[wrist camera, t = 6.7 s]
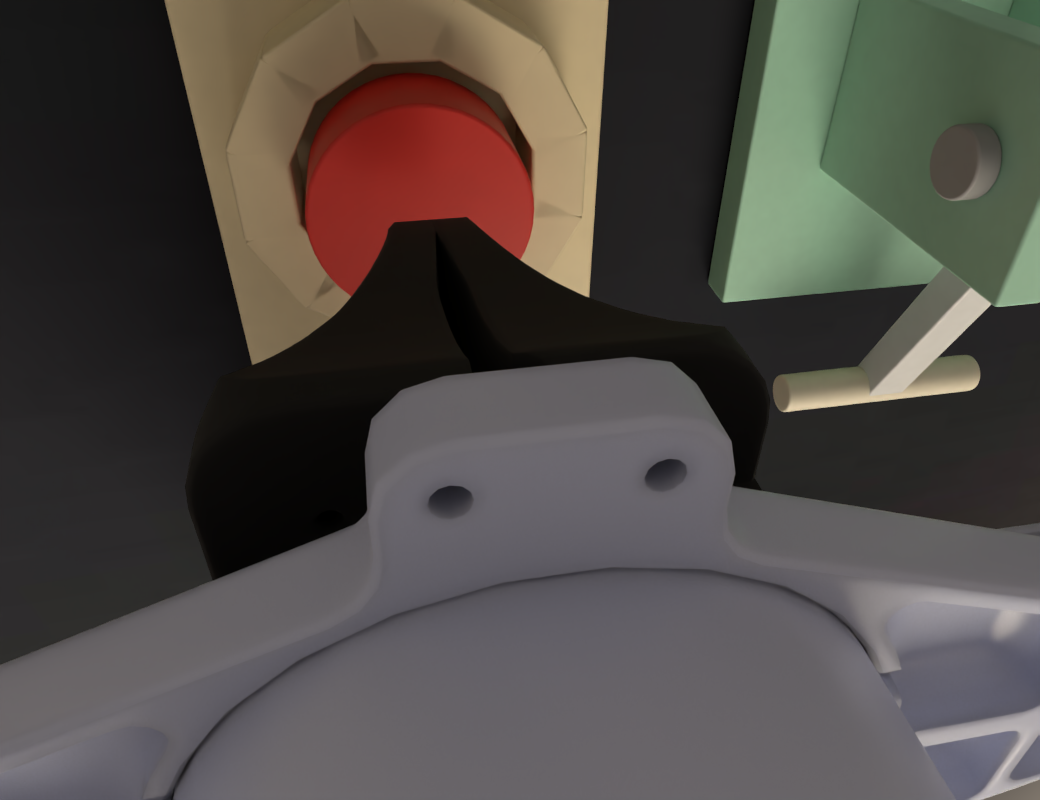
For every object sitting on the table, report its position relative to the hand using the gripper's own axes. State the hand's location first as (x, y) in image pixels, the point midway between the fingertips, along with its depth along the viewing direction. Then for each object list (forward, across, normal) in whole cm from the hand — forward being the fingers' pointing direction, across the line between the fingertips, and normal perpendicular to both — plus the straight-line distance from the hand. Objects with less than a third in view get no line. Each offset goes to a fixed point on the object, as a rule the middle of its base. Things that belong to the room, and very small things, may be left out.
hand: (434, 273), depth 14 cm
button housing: (+7, 0, +1) cm, 7 cm away
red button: (+4, 0, 0) cm, 4 cm away
